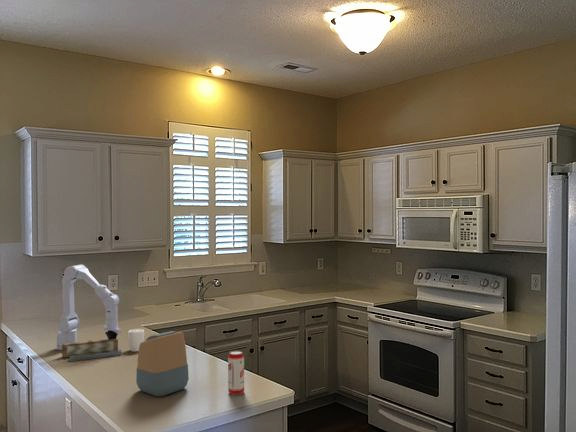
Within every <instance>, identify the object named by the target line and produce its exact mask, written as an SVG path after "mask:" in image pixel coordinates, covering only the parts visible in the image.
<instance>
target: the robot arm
mask: <svg viewBox="0 0 576 432" xmlns="http://www.w3.org/2000/svg"><path fill="white" fill-rule="evenodd" d="M77 280H84V281H85V282H86V284H88V285H89V286H90V287H92V288H93V290H94V294H95V295H97V296H98V297H99V298H100V299H101V301H102V304H103V306H104V308H105V325H103V327H102V328H103V329H102V330H104V331H105V335H106V337H107V339H117V337H118V335H119V334H121V333H122V329H121V328H120V327H119V325H118V324H119V321H118V320H119V319H118V317H119V316H118V315H119V314H118V307H119V306H118V305H119V304H120V297H119V296H118V294H115V293H113V292H111V290H109V289H108V286H107V285H105V284H100V283H99V282H98V280H97V279H96V278H95V277H94V276H93V274H91V273H90V271H89V268H88V267H86V266H85V265H84V264H81V263H80V264H76V265H70V266H68V267H66V268H65V269H64V271H63V277H62V279H61V285H62V286H61V287H62V309H63V310H62V315H61V316H60V318H59V323H58V329H59V331H58V332H57V334H56V348H55V350H57V351H58V350H59V351H62V344H67V343H77V342H78V339H77V335H78V334H77V333H78V331H77V330H78V328H79V326H80V319H79V315H78V314H77V313H76V312H75V311H76V310H75V288H74V287H75V286H74V284H75V282H76V281H77Z"/></svg>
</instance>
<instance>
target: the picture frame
mask: <svg viewBox="0 0 576 432" xmlns="http://www.w3.org/2000/svg"><path fill="white" fill-rule="evenodd" d="M115 350H119V338H116V339H108V338H107V339H98V340H88V341H77V343H67V344H62V350H61V354H62V355H61V356H62V357H61V358H67V357H68V358H69V356H71V355H80V354H89V353H97V352H106V351H115Z"/></svg>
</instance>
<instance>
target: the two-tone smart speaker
mask: <svg viewBox="0 0 576 432" xmlns="http://www.w3.org/2000/svg"><path fill="white" fill-rule="evenodd" d="M184 336H185V335H184V333H183V331H178V332H177V331H176V330H175V331H174V330H171V331H166V332H161V333H158V334H153V335H150V336H148V337H147V338H146V339H145V340H144V342H142V343H140V345H139V351H137V352H138V353H137V366H136V376H135V377H136V379H135V380H136V382H135V383H136V385H137V387H138V389H139V390H141V392H144V393H146V394H149V395H152V396H155V397H158V398H159V397H160V398H161V397H165V396H167V395H169V394H172V393H175V392H178V391H182V390H184V389H185V388H186V386H187V385H188V383H189V363H188V360H187V359H188V357H187V349H186V347H187V346H186V342H185V337H184Z"/></svg>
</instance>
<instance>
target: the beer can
mask: <svg viewBox="0 0 576 432" xmlns="http://www.w3.org/2000/svg"><path fill="white" fill-rule="evenodd" d="M227 367H228V368H227V371H228V373H227V377H228V380H227V381H228V382H227V383H228V385H227V388H228V393H229V394H230V395H232V396H240V395H242V394H243V393H244V392H245V356H244V354H243V351H241V350H231V351H229V354H228V356H227ZM239 394H240V395H239Z"/></svg>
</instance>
